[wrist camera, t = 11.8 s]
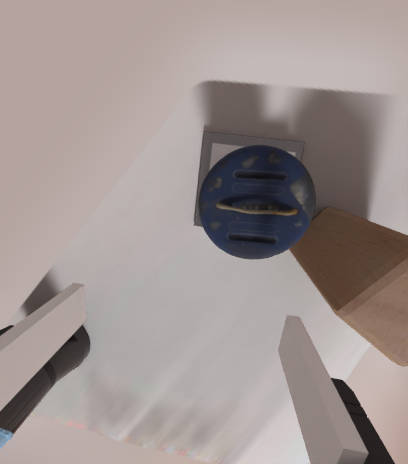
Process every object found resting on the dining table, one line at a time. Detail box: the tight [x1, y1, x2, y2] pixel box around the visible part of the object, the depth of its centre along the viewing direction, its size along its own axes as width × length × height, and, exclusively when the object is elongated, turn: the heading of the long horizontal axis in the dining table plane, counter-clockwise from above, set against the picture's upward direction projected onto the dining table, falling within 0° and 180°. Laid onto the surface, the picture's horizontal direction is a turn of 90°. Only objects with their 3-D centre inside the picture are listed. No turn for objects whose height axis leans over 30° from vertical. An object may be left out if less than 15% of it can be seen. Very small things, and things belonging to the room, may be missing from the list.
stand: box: [194, 132, 305, 227], centre depth 35 cm, size 16×17×5 cm
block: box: [289, 207, 408, 366], centre depth 29 cm, size 10×10×20 cm
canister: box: [198, 145, 316, 259], centre depth 24 cm, size 10×10×18 cm
